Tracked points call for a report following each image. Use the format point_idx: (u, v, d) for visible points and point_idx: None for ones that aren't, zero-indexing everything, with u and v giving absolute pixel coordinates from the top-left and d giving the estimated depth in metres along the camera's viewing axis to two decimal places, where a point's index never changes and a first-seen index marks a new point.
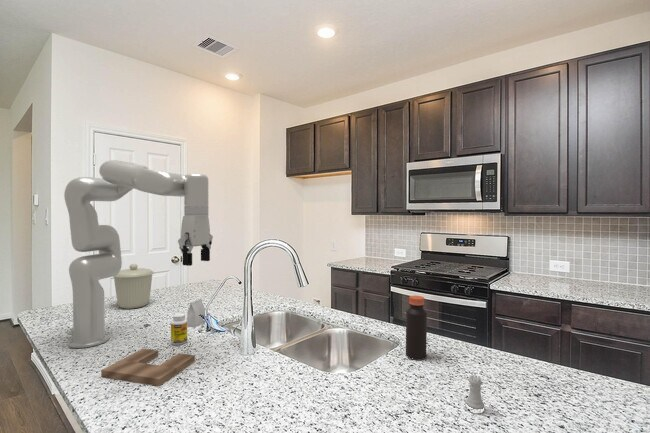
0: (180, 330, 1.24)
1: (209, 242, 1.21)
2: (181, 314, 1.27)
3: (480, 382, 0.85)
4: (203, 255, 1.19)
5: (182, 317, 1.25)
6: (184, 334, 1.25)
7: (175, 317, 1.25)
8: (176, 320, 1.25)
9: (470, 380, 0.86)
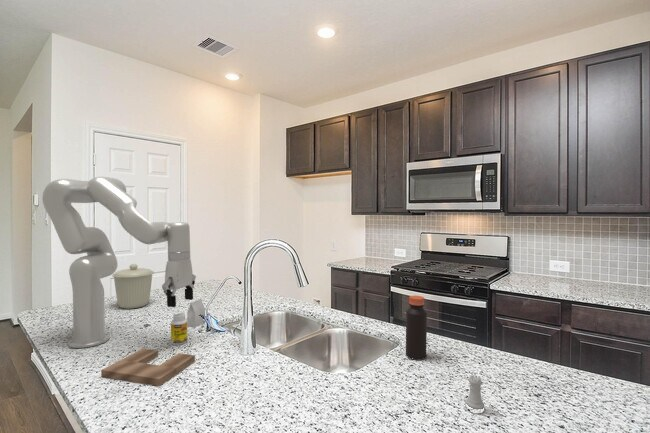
0: (180, 330, 1.24)
1: (192, 282, 1.32)
2: (181, 314, 1.27)
3: (480, 382, 0.85)
4: (187, 294, 1.31)
5: (182, 317, 1.25)
6: (184, 334, 1.25)
7: (175, 317, 1.25)
8: (176, 320, 1.25)
9: (470, 380, 0.86)
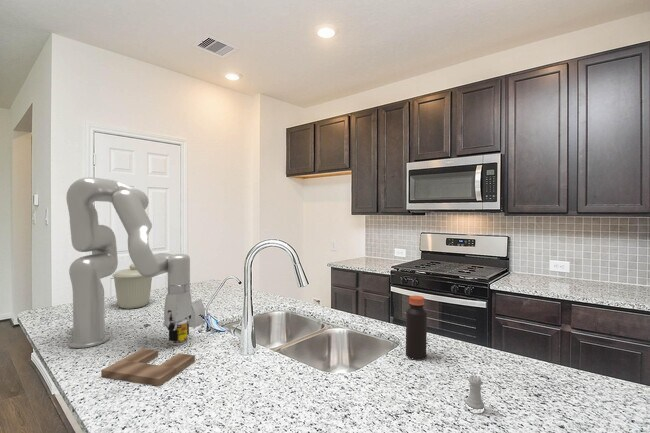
0: (180, 330, 1.24)
1: None
2: None
3: (480, 382, 0.85)
4: None
5: None
6: (184, 334, 1.25)
7: None
8: None
9: (470, 380, 0.86)
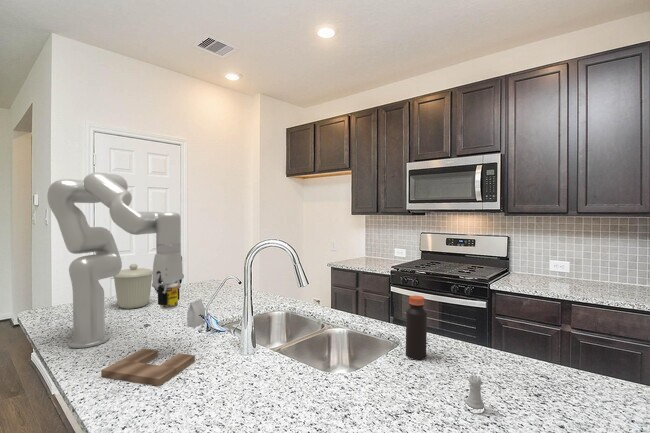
0: (170, 293, 1.15)
1: (179, 281, 1.22)
2: None
3: (480, 382, 0.85)
4: None
5: None
6: (175, 299, 1.16)
7: None
8: None
9: (470, 380, 0.86)
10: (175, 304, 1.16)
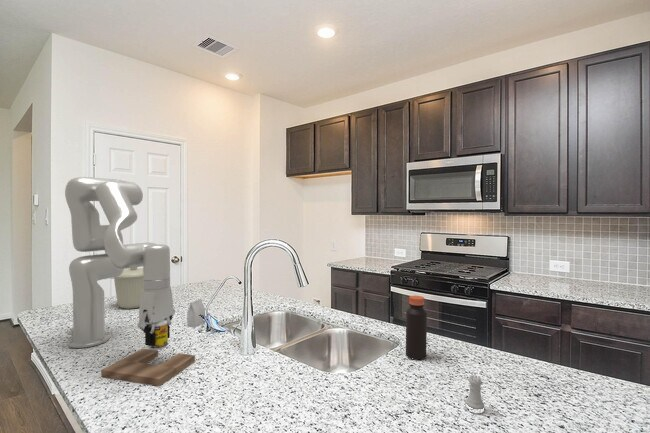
0: (158, 333, 1.06)
1: None
2: None
3: (480, 382, 0.85)
4: None
5: None
6: (164, 338, 1.08)
7: None
8: None
9: (470, 380, 0.86)
10: (164, 344, 1.08)
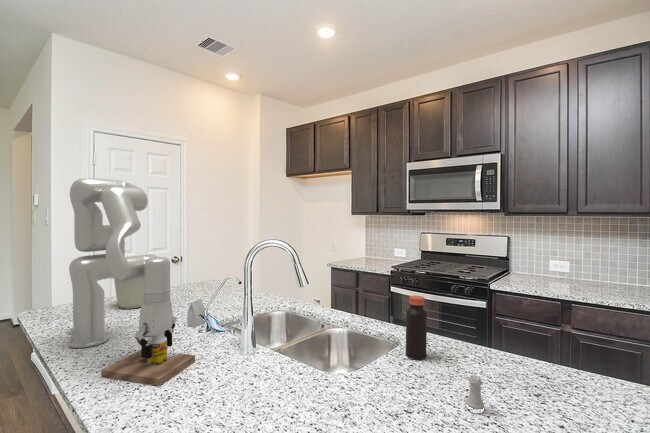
0: (157, 350, 1.07)
1: (172, 325, 1.14)
2: None
3: (480, 382, 0.85)
4: None
5: (160, 335, 1.08)
6: (163, 355, 1.08)
7: None
8: (153, 339, 1.07)
9: (470, 380, 0.86)
10: (163, 361, 1.08)
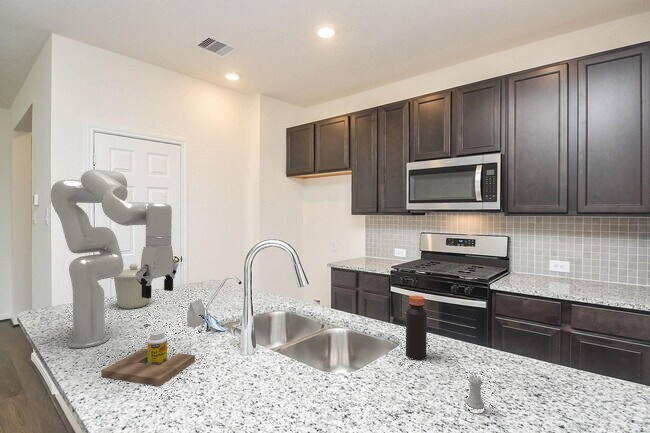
0: (158, 350, 1.07)
1: (173, 271, 1.18)
2: (160, 331, 1.09)
3: (480, 382, 0.85)
4: (166, 285, 1.17)
5: (161, 335, 1.08)
6: (163, 355, 1.08)
7: (152, 335, 1.07)
8: (153, 339, 1.07)
9: (470, 380, 0.86)
10: (164, 361, 1.08)
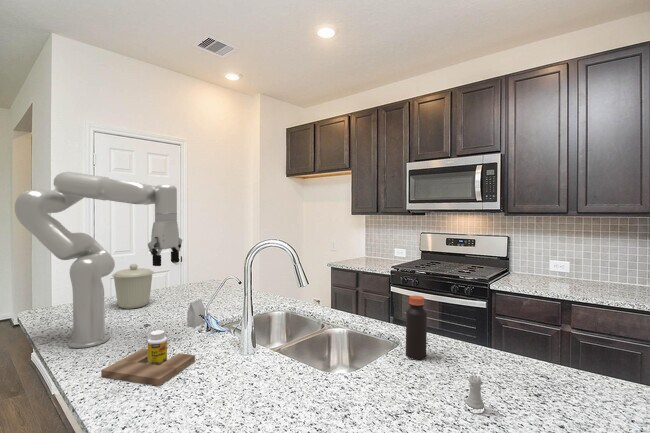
0: (158, 350, 1.07)
1: (178, 245, 1.35)
2: (160, 331, 1.09)
3: (480, 382, 0.85)
4: (173, 257, 1.34)
5: (161, 335, 1.08)
6: (163, 355, 1.08)
7: (152, 335, 1.07)
8: (153, 339, 1.07)
9: (470, 380, 0.86)
10: (164, 361, 1.08)
